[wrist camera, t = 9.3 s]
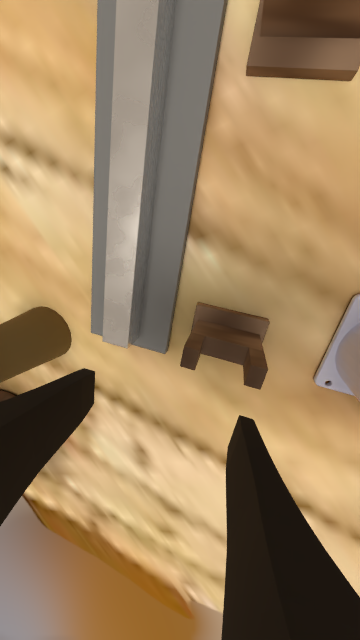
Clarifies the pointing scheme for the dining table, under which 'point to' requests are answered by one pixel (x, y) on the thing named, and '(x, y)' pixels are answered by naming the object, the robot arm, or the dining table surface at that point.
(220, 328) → the cradle rack
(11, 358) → the cork
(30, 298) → the dining table surface
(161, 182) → the long grey plate
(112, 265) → the steel rail
